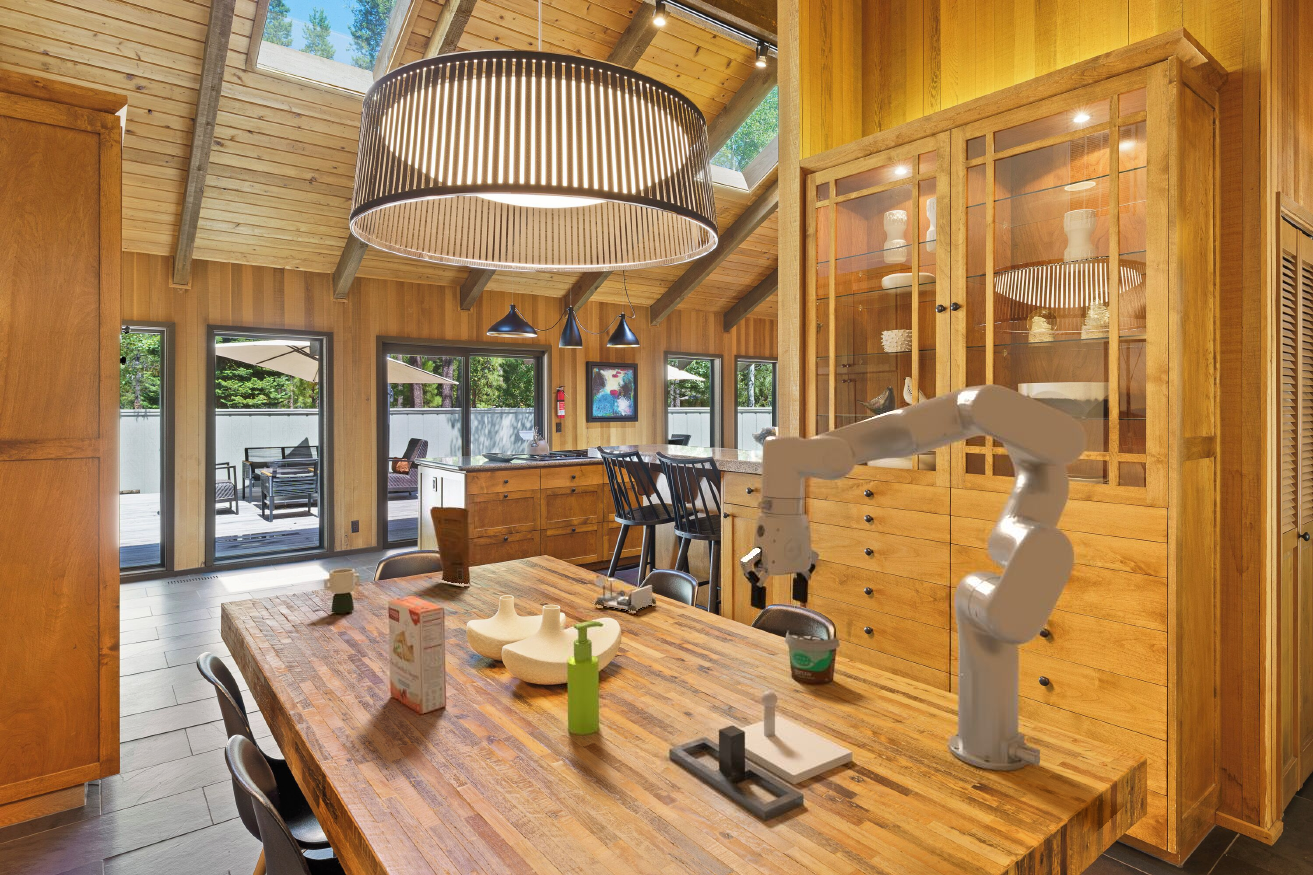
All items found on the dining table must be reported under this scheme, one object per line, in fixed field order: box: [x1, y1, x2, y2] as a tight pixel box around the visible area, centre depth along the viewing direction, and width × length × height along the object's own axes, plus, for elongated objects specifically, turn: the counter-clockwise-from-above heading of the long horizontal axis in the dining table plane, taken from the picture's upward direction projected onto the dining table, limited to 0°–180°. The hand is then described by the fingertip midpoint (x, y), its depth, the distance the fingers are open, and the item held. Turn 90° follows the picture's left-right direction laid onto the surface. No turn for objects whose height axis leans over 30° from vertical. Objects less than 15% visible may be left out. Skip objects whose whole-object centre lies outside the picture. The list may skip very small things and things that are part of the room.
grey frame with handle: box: [668, 724, 805, 822], centre depth 116 cm, size 24×8×8 cm, turn 34°
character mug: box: [323, 568, 361, 614], centre depth 217 cm, size 11×7×13 cm, turn 138°
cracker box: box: [387, 595, 447, 715], centre depth 148 cm, size 14×6×21 cm, turn 45°
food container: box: [784, 629, 841, 686], centre depth 158 cm, size 12×6×10 cm, turn 62°
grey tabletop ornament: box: [593, 574, 657, 612], centre depth 223 cm, size 18×10×12 cm
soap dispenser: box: [566, 620, 604, 736], centre depth 135 cm, size 6×7×20 cm
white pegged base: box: [739, 690, 853, 785], centre depth 125 cm, size 18×14×9 cm
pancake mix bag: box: [429, 506, 471, 585], centre depth 254 cm, size 7×19×28 cm, turn 52°
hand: (779, 604), depth 124 cm, fingers open, 9 cm apart
